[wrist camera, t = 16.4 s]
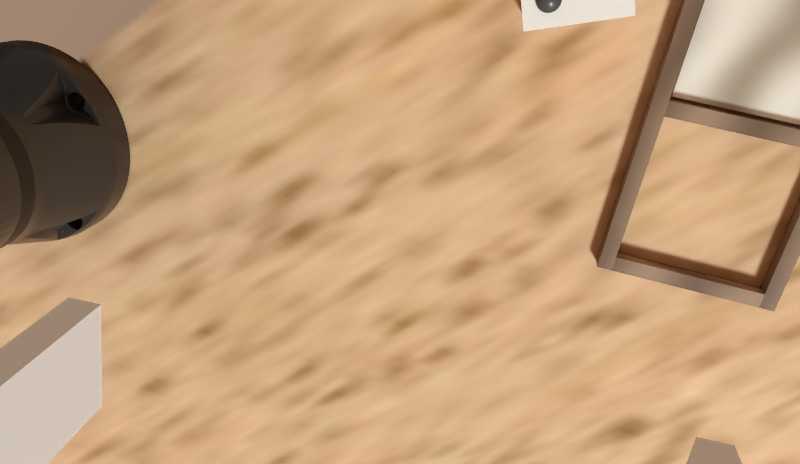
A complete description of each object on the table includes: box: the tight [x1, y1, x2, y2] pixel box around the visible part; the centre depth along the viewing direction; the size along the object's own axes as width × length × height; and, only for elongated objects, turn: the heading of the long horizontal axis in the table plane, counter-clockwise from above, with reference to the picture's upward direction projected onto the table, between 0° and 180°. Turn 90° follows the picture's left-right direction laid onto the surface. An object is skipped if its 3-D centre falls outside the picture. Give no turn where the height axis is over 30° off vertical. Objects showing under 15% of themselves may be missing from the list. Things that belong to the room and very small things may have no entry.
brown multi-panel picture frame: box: [596, 0, 800, 311], centre depth 43 cm, size 12×34×1 cm, turn 169°
